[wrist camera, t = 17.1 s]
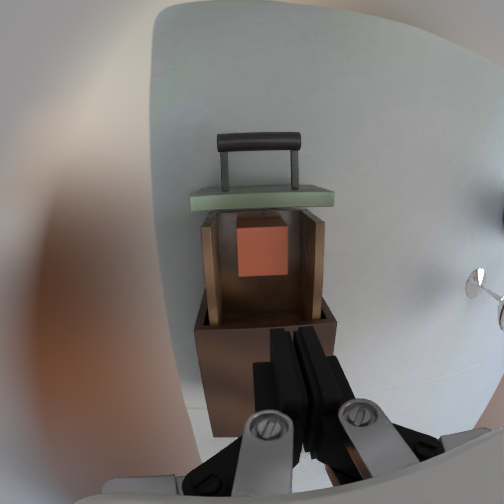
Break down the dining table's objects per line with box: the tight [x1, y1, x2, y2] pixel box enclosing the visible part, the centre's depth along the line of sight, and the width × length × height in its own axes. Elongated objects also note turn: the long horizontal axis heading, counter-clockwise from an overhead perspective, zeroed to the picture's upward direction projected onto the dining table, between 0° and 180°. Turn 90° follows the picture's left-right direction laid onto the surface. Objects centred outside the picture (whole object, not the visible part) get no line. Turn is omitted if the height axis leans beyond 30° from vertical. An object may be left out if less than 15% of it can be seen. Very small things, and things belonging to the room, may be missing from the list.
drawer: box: [189, 132, 334, 325], centre depth 27 cm, size 20×11×8 cm, turn 2°
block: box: [236, 217, 288, 277], centre depth 28 cm, size 4×4×4 cm
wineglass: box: [466, 269, 504, 331], centre depth 30 cm, size 7×7×12 cm
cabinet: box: [194, 286, 337, 437], centre depth 32 cm, size 16×13×10 cm
